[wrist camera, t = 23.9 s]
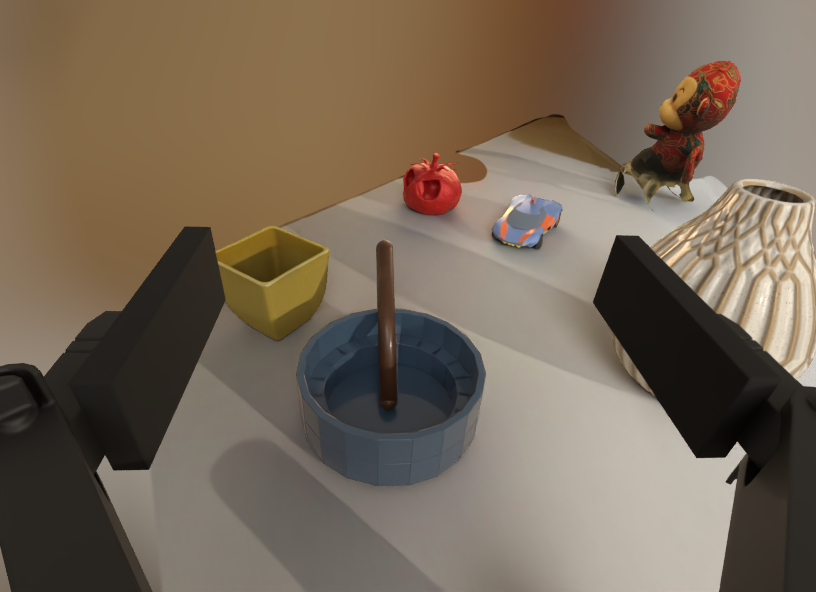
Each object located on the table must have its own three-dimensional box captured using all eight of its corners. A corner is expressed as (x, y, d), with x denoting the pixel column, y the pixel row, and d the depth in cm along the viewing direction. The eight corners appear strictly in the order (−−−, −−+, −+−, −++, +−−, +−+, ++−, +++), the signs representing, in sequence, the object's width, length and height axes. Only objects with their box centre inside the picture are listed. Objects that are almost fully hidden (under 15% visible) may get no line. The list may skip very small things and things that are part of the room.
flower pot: (276, 360, 46) (264, 285, 41) (219, 327, 50) (202, 255, 45) (335, 318, 52) (331, 248, 47) (280, 291, 56) (271, 224, 51)
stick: (377, 410, 40) (373, 238, 44) (382, 411, 41) (378, 244, 45) (395, 410, 39) (390, 236, 44) (399, 410, 41) (394, 242, 45)
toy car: (482, 244, 68) (487, 211, 65) (514, 210, 79) (520, 180, 76) (535, 259, 65) (543, 225, 62) (560, 221, 76) (568, 191, 73)
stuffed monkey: (682, 180, 91) (761, 47, 72) (701, 235, 80) (801, 95, 61) (605, 169, 93) (663, 35, 74) (614, 222, 82) (684, 80, 63)
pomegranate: (432, 191, 84) (436, 140, 79) (471, 211, 78) (478, 156, 73) (389, 203, 79) (390, 149, 74) (427, 225, 73) (431, 167, 67)
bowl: (291, 493, 34) (282, 442, 31) (313, 355, 47) (309, 308, 43) (491, 488, 35) (504, 438, 32) (461, 355, 48) (468, 308, 44)
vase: (657, 315, 56) (732, 149, 44) (801, 405, 44) (950, 214, 33) (561, 353, 49) (619, 169, 37) (700, 471, 38) (844, 260, 26)
